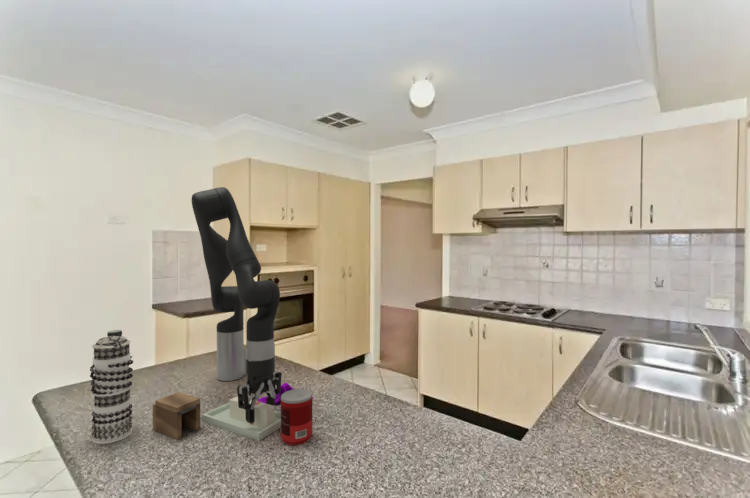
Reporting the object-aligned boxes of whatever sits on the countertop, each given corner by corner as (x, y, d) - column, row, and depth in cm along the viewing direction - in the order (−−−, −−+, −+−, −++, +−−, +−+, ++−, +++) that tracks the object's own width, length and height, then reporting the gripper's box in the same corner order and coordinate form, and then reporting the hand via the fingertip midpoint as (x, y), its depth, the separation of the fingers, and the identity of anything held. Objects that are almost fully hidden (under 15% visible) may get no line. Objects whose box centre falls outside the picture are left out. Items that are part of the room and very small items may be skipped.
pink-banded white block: (238, 413, 109) (238, 395, 109) (275, 424, 102) (275, 405, 102) (229, 417, 106) (229, 399, 106) (266, 429, 100) (266, 410, 99)
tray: (235, 405, 116) (235, 399, 116) (290, 421, 105) (290, 415, 105) (201, 421, 105) (201, 414, 105) (258, 440, 95) (258, 433, 95)
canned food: (317, 432, 99) (317, 390, 99) (302, 448, 92) (302, 402, 91) (291, 427, 102) (291, 386, 101) (274, 442, 94) (274, 398, 94)
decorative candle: (139, 424, 103) (138, 332, 103) (126, 441, 94) (125, 341, 94) (100, 429, 101) (99, 334, 101) (83, 447, 92) (82, 343, 92)
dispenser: (176, 419, 106) (176, 391, 106) (200, 428, 101) (200, 398, 101) (152, 429, 100) (152, 399, 100) (177, 439, 95) (176, 407, 95)
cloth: (302, 420, 107) (302, 398, 107) (243, 413, 111) (242, 392, 111) (329, 390, 129) (329, 372, 129) (278, 385, 133) (278, 368, 133)
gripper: (269, 347, 110) (269, 404, 111) (228, 360, 98) (229, 425, 98) (289, 350, 107) (289, 409, 107) (249, 365, 94) (250, 432, 94)
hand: (260, 416), depth 103 cm, fingers open, 6 cm apart
